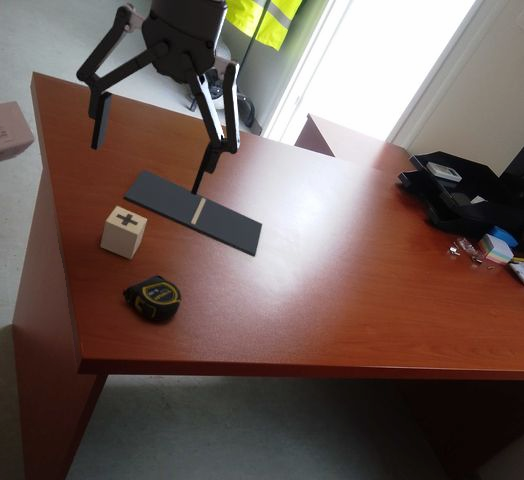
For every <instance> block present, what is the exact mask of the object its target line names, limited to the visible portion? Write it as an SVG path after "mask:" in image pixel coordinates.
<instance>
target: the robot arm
mask: <svg viewBox="0 0 524 480" xmlns="http://www.w3.org/2000/svg"><path fill="white" fill-rule="evenodd" d="M227 12H228V2H227V1H226V0H151V3H150V8H149V12H148V15H147V17H145V16H143V15H142V14H140V13H139V12H138V11H136V8H135V7H134V5H133V4H132V3H129V2H128V3H125V4H122V5H121V6H118V7H117V9H116V13H115V16H114V19H113V23H112V27H111V28H109V30H108V31H107V32H106V34H105V35H104V36H103V37H102V39H101V40H100V41H99V42H98V44H97V45H96V47H94V49H93V50H92V51H91V52H90V54H89V55H88V57H87V58H86V59H85V61H83V63H82V64H81V65H80V66H79V68H78V69H77V71H76V72H75V78H76V80H78V81H79V82H81V83H84V84H85V85H86V86H87V87H88V88H89V91H90V97H89V102H88V109H87V110H88V111H87V115H88V118H89V119H92V120H93V121H94V124H93V125H94V126H93V131H92V138H91V143H90V149H92V150H94V151H97V150H99V148H100V147H102V146H103V144H104V143H105V138H106V132H107V128H108V122H109V117H110V110H111V105H112V101H113V93H112V92H110V91H108V89H110V88H112V87H113V86H115V85H117V84H118V83H120V82H122V81H123V80H125V79H127V78H128V77H130V76H131V75H134V74H135V73H136V72H138V71H140V70H142V69H144V68H145V67H147V66H148V65H152V67H153V68H154V69H155V70H156V73H157V74H159V75H161V76H163V77H169V78H170V79H172V81H174V82H175V83H177V84H179V85H181V86H183V85H188V86H189V88H190V91H191V94H192V96H193V97H194V99H195V101H196V105H197V108H198V110H199V113H200V116H201V119H202V121H203V124H204V127H205V129H206V132H207V133H206V134H207V135H208V138H209V141H208V144H207V146H206V147H205V151H204V153H203V156H202V158H201V162H200V165H199V168H198V171H197V173H196V177H195V179H194V182H193V185H192V188H191V190H190V191H191V194H194V195H196V194H198V192H199V190H200V187H201V185H202V182H203V179H204V176H205V174H206V173H208V174H209V175H213V173H215V170H216V169H217V166H218V163H219V161H220V158H221V155H222V154H223V153H229V154H231V155H236V154H237V153H238V151H239V148H240V145H241V137H240V136H241V135H240V123H239V111H238V110H239V109H238V98H237V86H236V81H237V77H238V73H239V69H240V62H239V61H238V59H236V58H233V59H231V60H230V59H227V58H224V57H222V56H219V55H218V54H217V44H218V41H219V37H220V34H221V31H222V27H223V25H224V21H225V18H226V15H227ZM137 29H139V30H141V31H140V32H141V35H142V38H143V41H144V43H145V47H146V49H144V50H143V51H140V52H139V53H138V54H137V55H135V56H133V57H132V58H130V59H128V60H127V61H125V62H123V63H122V64H120V65H119V66H117V67H116V68H114V69H112V70H110V71H109V72H107V73H106V74H104V75H102V76H101V77H100V76H99V75H98V74H97V71H98V70H99V69H100V68H101V67H102V65H103V64H104V63H105V61H106V60H107V59H108V58H109V56H110V55H112V53H113V52H114V51H115V50H116V48H117V47H118V46H119V44H120V43H121V42H122V41H123V39H124V38H125V37H126V36H127V34H133V33H134V32H135V31H137ZM213 68H214V69H215V70H216V71H217V78H218V80H219V81H221V82H222V87H221V88H222V101H223V112H224V113H223V114H224V119H225V120H224V122H225V123H224V124H225V131H226V137H225V135H224V132H223V129H222V126H221V122H220V120H219V117H218V114H217V111H216V107H215V104H214V102H213V98H212V96H211V93H210V90H209V84H208V79H207V77H206V73H207V72H209V71H211V70H213Z"/></svg>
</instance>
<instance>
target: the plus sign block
mask: <svg viewBox="0 0 524 480" xmlns="http://www.w3.org/2000/svg"><path fill="white" fill-rule="evenodd" d="M147 223H148V219H147V218H146V217H143V216H141V215H139V214H137V213H134V212H132V211H129V210H128V209H125V208H123V207H122V206H118V205H116V206H115V208H114V209H113V210H112V212H111V213H110V215H109V216H108V217H107V218H106V220H105V222H104V227H103V232H102V235H101V236H102V237H101V241H100V245H99V247H100V248H102V249H104V250H106V251H109V252H111V253H114V254H116V255H118V256H121V257H124V258H126V259H128V260H132V259H133V257H134V256H135V254H136V252H137V250H138V249H139V247H140V245H141V244H142V239H143V236H144V232H145V228H146V225H147Z"/></svg>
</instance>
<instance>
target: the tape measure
mask: <svg viewBox="0 0 524 480" xmlns="http://www.w3.org/2000/svg"><path fill="white" fill-rule="evenodd" d="M122 296H123V297H124V300H125V302H126V303H128V305H130V306H134V307H135V309H136V310H137V312H139V313H140V315H142V316H143V317H146V318H148V319H151V320H154V321H166V320H168V319H171V318H173V316H175V315H176V314H177V313H178V311H179V308H180V306H181V302H182V293H181V290H180V289H179V288H178V286H177V285H176V284H175V283H173V282H171V281H170V280H168V279H166V278H165V277H163V276H162V275H160V274H154V275H152V276H150V277H149V278H147V279H144V280H142V281H140V282H137V283H134V284H132V285H130V286H128V287H127V288H126V289H125V288H123V290H122Z"/></svg>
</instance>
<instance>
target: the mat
mask: <svg viewBox="0 0 524 480" xmlns="http://www.w3.org/2000/svg"><path fill="white" fill-rule="evenodd" d="M191 191H192V190H190V189H188V188H186V187H183V186H181V185H179V184H177V183H174V182H173V181H170V180H168V179H167V178H164V177H162V176H159V175H158V174H155V173H153V172H151V171H149V170H147V169H142V171H141V172H140V173H139V174H138V176H137V177H136V179H135V180H134V181H133V183H132V184H131V186H130V187H129V189H128V190H127V191H126V192H125V194H124V195H123V199H124V200H125V201H128V202H130V203H133V204H135V205H137V206H139V207H142V208H144V209H146V210H147V211H151V212H153V213H155V214H157V215H158V216H159V215H160V216H162V217H164V218H165V219H168V220H171V221H173V222H176V223H178V224H180V225H182V226H184V227H187V228H189V229H191V230H193V231H196V232H198V233H200V234H203V235H204V236H207V237H209V238H211V239H214V240H216V241H218V242H220V243H223V244H225V245H227V246H230V247H232V248H234V249H236V250H237V251H240V252H243V253H245V254H247V255H250V256H252V257H255V256H256V255H257V250H258V246H259V242H260V238H261V237H260V236H261V233H262V229H263V223H261V222H260V221H257V220H256V219H253V218H251V217H248V216H246V215H245V214H242V213H240V212H237V211H236V210H233V209H231V208H229V207H227V206H226V205H223V204H220V203H218V202H216V201H213V200H212V199H209V198H207V197H205V196H203V195H201V194H199V193H197V194H196V195H194V194H191Z"/></svg>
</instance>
